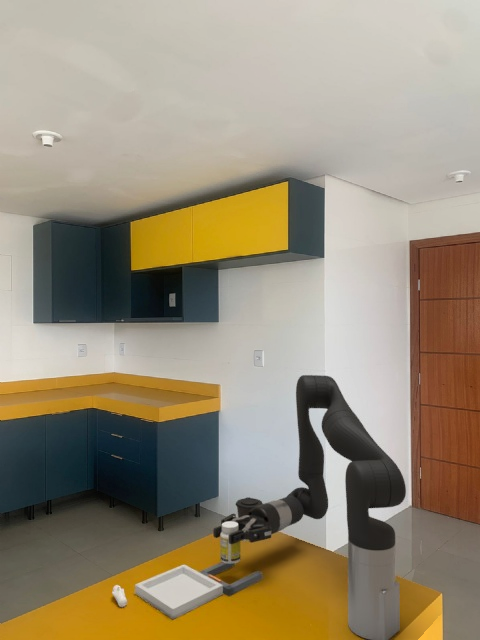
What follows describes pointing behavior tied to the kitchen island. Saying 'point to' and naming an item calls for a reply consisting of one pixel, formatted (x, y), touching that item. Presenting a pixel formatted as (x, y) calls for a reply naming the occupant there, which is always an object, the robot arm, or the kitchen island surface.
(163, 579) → the tray
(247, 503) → the coffee cup
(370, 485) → the robot arm
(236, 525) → the supplement bottle
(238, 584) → the holder
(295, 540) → the kitchen island surface
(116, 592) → the small white plastic part
